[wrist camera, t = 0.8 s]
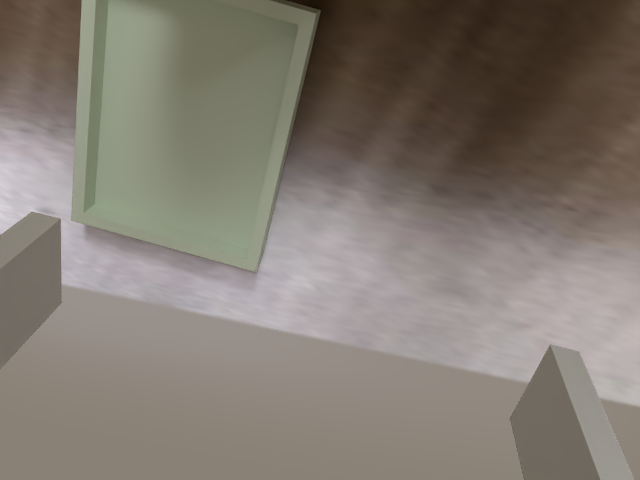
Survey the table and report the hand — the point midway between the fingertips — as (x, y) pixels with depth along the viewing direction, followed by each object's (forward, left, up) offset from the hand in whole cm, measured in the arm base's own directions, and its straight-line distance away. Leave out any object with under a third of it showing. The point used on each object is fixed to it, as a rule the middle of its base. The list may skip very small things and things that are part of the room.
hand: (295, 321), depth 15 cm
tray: (+3, -10, -23) cm, 25 cm away
